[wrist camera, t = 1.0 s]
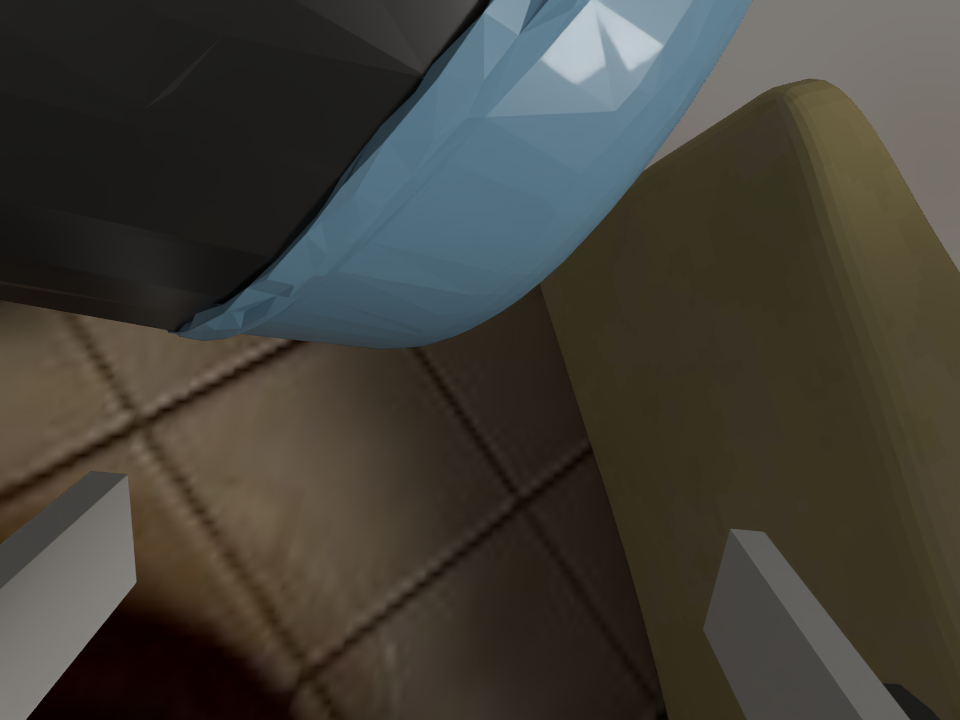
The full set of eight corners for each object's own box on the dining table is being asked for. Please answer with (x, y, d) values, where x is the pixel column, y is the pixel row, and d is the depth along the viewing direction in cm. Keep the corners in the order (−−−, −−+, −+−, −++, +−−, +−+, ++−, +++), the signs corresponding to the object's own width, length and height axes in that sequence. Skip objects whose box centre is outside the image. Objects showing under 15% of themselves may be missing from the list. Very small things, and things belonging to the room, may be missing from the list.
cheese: (455, 289, 27) (664, 58, 14) (617, 234, 31) (904, 14, 18) (670, 767, 25) (1161, 1050, 12) (813, 643, 29) (1301, 745, 16)
